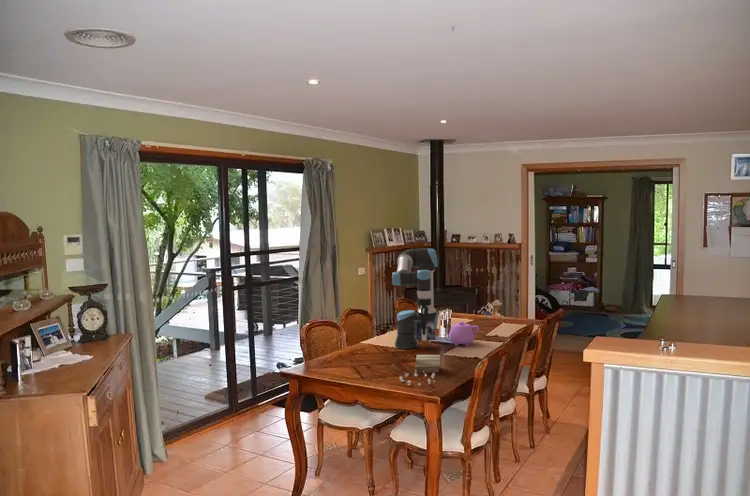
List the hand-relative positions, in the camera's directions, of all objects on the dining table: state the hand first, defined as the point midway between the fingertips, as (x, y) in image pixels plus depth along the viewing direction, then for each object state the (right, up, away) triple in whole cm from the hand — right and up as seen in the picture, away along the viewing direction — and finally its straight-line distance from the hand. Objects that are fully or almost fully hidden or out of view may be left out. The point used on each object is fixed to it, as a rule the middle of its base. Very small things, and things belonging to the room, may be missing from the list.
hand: (424, 338), depth 322 cm
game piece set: (-5, -20, -18) cm, 27 cm away
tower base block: (+1, -18, 0) cm, 18 cm away
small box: (0, 0, 0) cm, 0 cm away
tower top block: (+2, -14, 0) cm, 14 cm away
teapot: (+31, -13, +61) cm, 70 cm away
